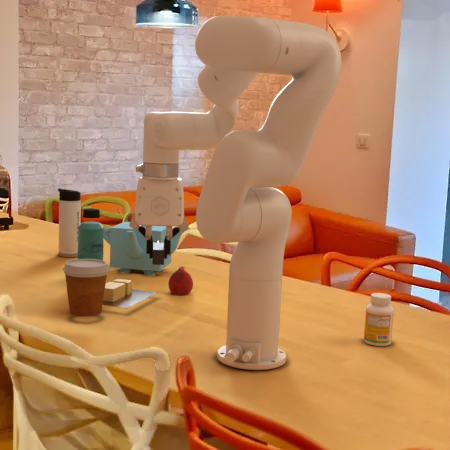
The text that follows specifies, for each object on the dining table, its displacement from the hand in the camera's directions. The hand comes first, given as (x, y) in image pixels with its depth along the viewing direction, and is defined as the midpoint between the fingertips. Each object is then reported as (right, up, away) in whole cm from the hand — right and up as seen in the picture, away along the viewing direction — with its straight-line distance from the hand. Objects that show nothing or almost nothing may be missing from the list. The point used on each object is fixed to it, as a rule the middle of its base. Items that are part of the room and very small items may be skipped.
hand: (158, 256), depth 159 cm
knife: (0, 0, +4) cm, 4 cm away
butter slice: (-10, -9, +15) cm, 20 cm away
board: (-10, -11, +11) cm, 19 cm away
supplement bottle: (+45, -17, -10) cm, 49 cm away
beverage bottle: (-19, -9, +23) cm, 31 cm away
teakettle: (-8, -6, +45) cm, 46 cm away
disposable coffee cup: (-15, -13, -2) cm, 20 cm away
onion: (+4, -11, +17) cm, 21 cm away
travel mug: (-32, -2, +63) cm, 71 cm away
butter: (-11, -10, +10) cm, 18 cm away
